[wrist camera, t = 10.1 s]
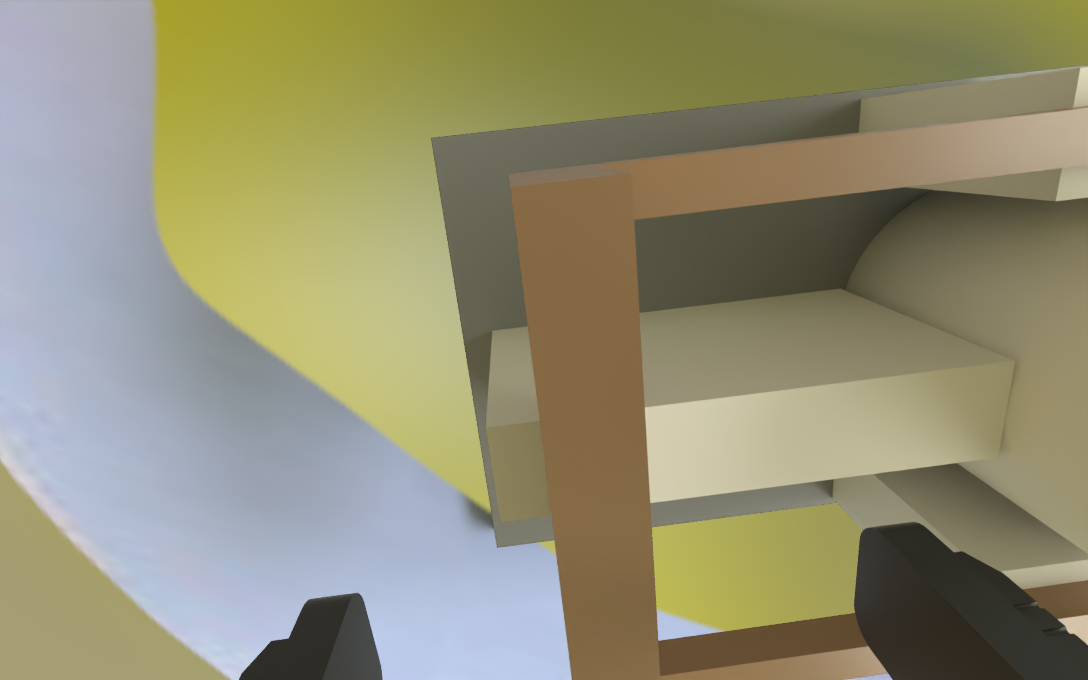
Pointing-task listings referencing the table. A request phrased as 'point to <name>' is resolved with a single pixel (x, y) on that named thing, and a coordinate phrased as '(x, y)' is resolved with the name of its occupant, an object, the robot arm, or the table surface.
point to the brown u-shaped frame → (617, 374)
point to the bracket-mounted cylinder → (818, 330)
